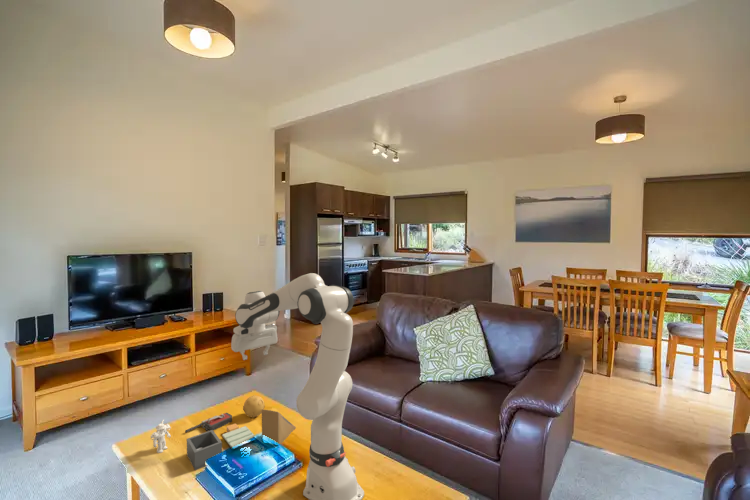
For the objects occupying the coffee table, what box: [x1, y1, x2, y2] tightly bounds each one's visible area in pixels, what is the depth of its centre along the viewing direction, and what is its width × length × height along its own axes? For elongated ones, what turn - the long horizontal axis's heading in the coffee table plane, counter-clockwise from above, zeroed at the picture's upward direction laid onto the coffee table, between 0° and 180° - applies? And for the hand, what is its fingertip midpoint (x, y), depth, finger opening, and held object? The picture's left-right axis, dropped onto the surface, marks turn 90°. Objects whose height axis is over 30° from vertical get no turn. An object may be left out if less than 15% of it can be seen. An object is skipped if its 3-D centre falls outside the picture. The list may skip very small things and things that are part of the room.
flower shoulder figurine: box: [150, 418, 172, 454], centre depth 146 cm, size 9×4×12 cm, turn 169°
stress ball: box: [242, 395, 266, 418], centre depth 173 cm, size 10×10×10 cm
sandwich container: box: [260, 409, 297, 444], centre depth 157 cm, size 9×15×15 cm, turn 163°
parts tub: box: [186, 430, 223, 471], centre depth 141 cm, size 12×10×7 cm
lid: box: [221, 423, 256, 448], centre depth 154 cm, size 16×10×3 cm, turn 42°
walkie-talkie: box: [184, 412, 233, 433], centre depth 164 cm, size 9×4×20 cm
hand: (255, 357), depth 157 cm, fingers open, 8 cm apart
